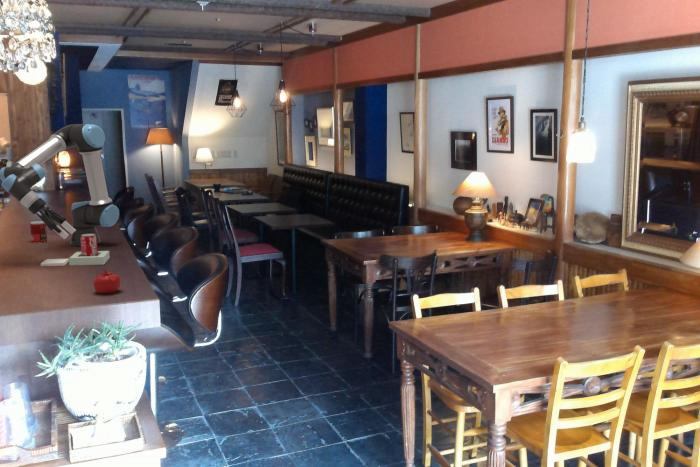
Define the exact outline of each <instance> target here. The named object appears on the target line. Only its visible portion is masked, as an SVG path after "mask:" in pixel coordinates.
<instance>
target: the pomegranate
mask: <svg viewBox="0 0 700 467" xmlns="http://www.w3.org/2000/svg"><path fill="white" fill-rule="evenodd" d="M103 271H104V273H103V272H97V276H95V278H94V280H93V283H92V284H93V288H94V290H95V292H96V293H97V294H101V295H102V294H103V295H104V294H113V293H115V292H117V291H119V289H120V288H121V283H122V282H121V281H122V279H121V277H120V276H119V275H118V274H117V273H115V271H113V270H111V271H109V272H108V271H107V268H104V269H103Z"/></svg>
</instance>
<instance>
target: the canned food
mask: <svg viewBox="0 0 700 467" xmlns="http://www.w3.org/2000/svg"><path fill="white" fill-rule="evenodd" d="M29 226H30V227H29V228H30V238H31V239H30V240H31V243H33V242H43V243H45V242H44V241H48V233H47V232H48V231H47V225H46V224H45V223H44V222H43V221H42V220H39V221H38V220H37V221H36V220H35V221H31V222H29Z"/></svg>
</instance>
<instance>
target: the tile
mask: <svg viewBox="0 0 700 467" xmlns="http://www.w3.org/2000/svg"><path fill="white" fill-rule="evenodd" d="M67 263H69V258H47V259H44V261H42V262H41V263H40V267H58V266H59V267H60V266H62V267H64V266H65V265H67Z"/></svg>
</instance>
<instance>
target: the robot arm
mask: <svg viewBox="0 0 700 467" xmlns="http://www.w3.org/2000/svg"><path fill="white" fill-rule="evenodd" d="M105 142H106V135H105V132H104V130H103V129H102V128H101V127H100V126H98V125H97V124H92V123H91V124H90V123H82V124H81V123H80V124H79V123H77V124H76V123H72V124H69V125H65V126H64V127H61V128H60V129H59V130H57V131H55V132H54V133H53V134H51V135H50V137H49V139H48V140H45V141H44V143H42V144H41V145H39V146H38V147H36V148H35V149H33V150H32V151H31V152H29V153H27V154H26V155H25V156H23V157H22V158H20V159H19V160H18V161H16V162H15V163H13V164H12V165H11V166H5V167H4V166H3V167H1V169H0V180H1V181H2V182H1V187H2V188H3V189H4V190H5V191H6V192H7V193H8V194H9V195H10V196H11V197H13V198H14V199H15V200H17V201H18V202H19V203H20V204H21V206H23V207H25V208H26V209H28V211H29V212H30V213H32V214H33V215H36V216H37V217H39V219H41V220H40V221H43V222H44V223H45V224H46V227H47V228H48V229H49V231H54V232H55V233H56V234H57V235H58V236H60V237H61V238H62V239H63V240H65V239H67V238H68V236H69V235H70V234H71V236H70V240H69V242H70V243H69V244H70V245H71V246H74V247H75V246H76V247H81V235H83V234H95V236H96V237H97V245H99V244H101V238H100V234H99V232H98V231H97V227H104V228H106V227H108V228H109V227H112V226H114V225H115V224H117V222H118V220H119V217H120V209H119V208H118V206H116V205H114V204H113V199H112V198H110V197H109V192H108V188H107V187H108V186H107V183H106V178H105V172H104V166H103V162H102V157H101V156H102V155H101V152H102V151H103V147H104V145H105ZM70 148H77V151H78V153H79V154H80V155H81V156H82V160H83V165H84V170H85V174H86V180H87V186H88V190H89V195H90V200H88V201H87V200H85V201H79V202H78V201H77V202H73V203H72V204H71V210H70V212H71V222H72V224H70V223H68V221H67V218H65V217H63V216H62V215H61V214H58V212H56V211H55V210H53V209H51V208H50V207H49V206H47V207H46V205H47V202H46V200H44V199H43V198H42V197H40V196H39V195H38V194H37V193H36V192H35V191H33V189H32V187H34V186H35V185H37V184H38V183H40V182H41V181H42V180H44V178H45V177H46V174H47V173H46V170H45V169H44V168H43V166H41V165H43V164H44V163H45V162H47V161H49V160H50V159H51V158H53V157H54V156H55V155H56V154H58V153H59V152H65V151H66V150H67V149H70ZM56 223H58V224H60V226H61V227H63V228H61V227H60V226H59V225H58V224H56ZM64 229H65V230H64ZM67 232H68V233H67Z"/></svg>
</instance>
